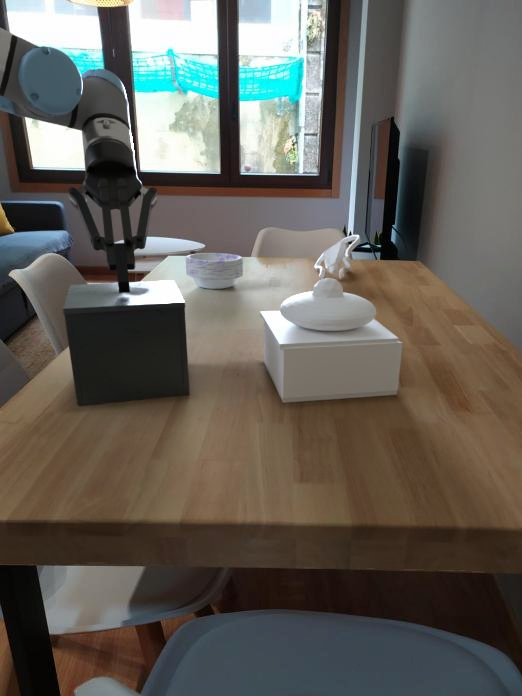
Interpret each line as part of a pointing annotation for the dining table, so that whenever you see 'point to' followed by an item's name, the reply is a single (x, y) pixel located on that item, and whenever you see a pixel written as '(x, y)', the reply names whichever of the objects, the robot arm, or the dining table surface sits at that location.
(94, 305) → the bin lid
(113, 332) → the trash can
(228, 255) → the paper bowls
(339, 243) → the white angular legged piece
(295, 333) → the butter dish
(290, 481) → the dining table surface
